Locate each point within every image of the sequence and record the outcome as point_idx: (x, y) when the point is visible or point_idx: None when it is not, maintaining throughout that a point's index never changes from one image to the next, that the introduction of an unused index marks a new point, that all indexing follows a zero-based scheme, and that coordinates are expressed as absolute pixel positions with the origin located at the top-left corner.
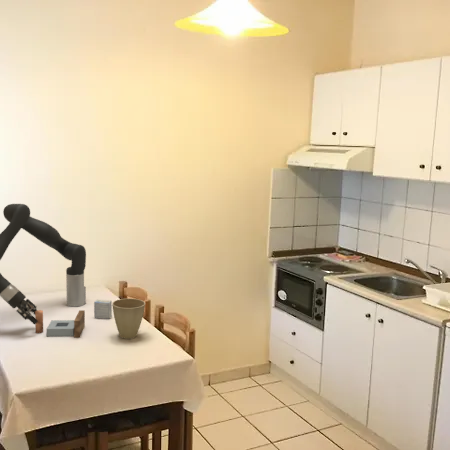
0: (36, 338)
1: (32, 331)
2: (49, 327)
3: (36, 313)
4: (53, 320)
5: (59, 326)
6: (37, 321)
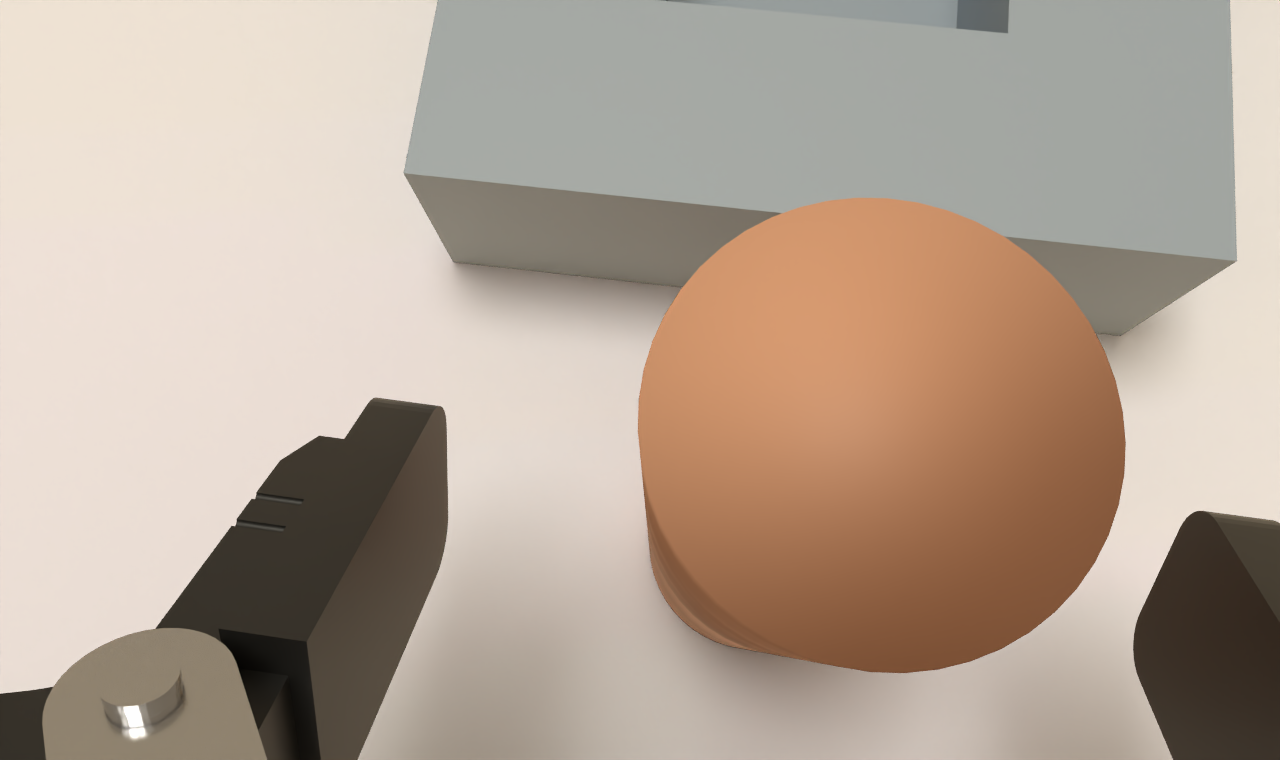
0: None
1: (682, 744)
2: (1091, 183)
3: (1062, 569)
4: (420, 115)
5: None
6: (1267, 521)
